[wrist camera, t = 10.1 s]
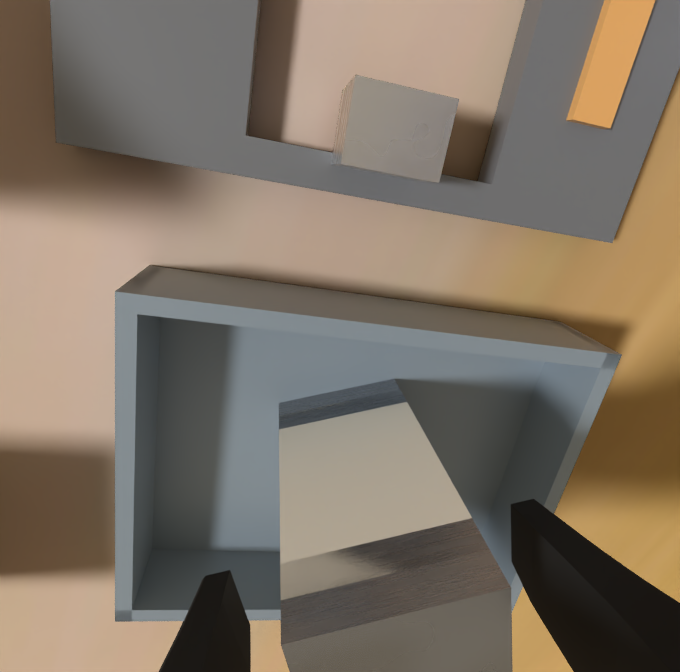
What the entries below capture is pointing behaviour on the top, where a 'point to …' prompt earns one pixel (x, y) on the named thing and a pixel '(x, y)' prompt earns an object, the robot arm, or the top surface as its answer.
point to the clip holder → (382, 108)
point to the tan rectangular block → (380, 545)
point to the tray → (308, 380)
